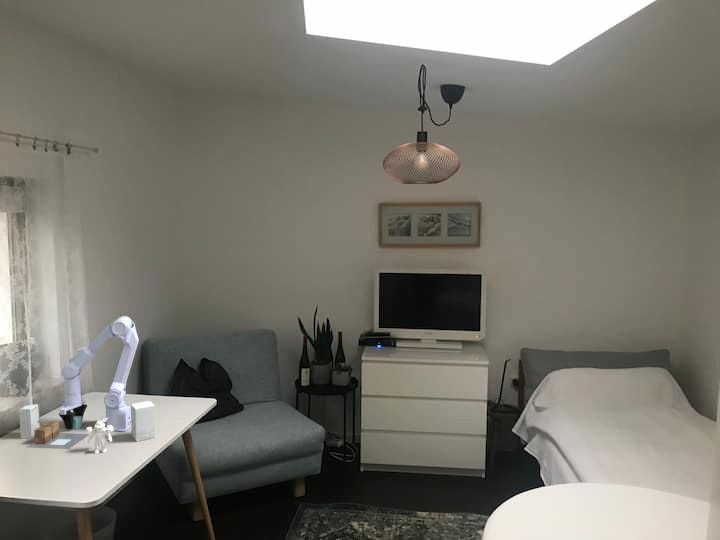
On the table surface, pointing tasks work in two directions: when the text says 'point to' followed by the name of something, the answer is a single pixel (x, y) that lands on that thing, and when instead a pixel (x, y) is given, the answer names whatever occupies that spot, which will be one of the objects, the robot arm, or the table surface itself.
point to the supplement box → (143, 421)
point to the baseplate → (61, 441)
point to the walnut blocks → (46, 432)
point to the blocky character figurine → (100, 435)
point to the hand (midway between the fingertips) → (74, 426)
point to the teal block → (77, 422)
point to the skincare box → (29, 420)
